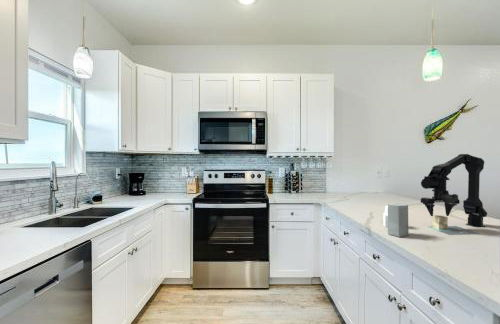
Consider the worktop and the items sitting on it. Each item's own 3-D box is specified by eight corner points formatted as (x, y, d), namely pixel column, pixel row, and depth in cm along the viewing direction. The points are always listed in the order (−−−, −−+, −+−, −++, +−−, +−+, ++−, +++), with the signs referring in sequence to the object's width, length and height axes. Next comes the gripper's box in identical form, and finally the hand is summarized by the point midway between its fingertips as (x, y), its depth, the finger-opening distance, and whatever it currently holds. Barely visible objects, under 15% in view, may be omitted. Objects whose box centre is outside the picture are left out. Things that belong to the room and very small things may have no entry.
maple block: (440, 227, 152) (440, 215, 152) (447, 229, 147) (447, 217, 147) (432, 227, 152) (432, 215, 152) (438, 230, 147) (438, 217, 147)
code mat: (455, 226, 155) (455, 226, 155) (482, 234, 139) (482, 234, 139) (426, 226, 154) (426, 226, 154) (449, 235, 138) (449, 234, 138)
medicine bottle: (396, 225, 157) (396, 205, 157) (399, 228, 150) (399, 207, 150) (383, 224, 159) (383, 204, 159) (385, 227, 153) (385, 206, 152)
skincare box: (399, 237, 133) (399, 206, 133) (386, 234, 140) (386, 203, 139) (409, 235, 137) (409, 204, 137) (396, 231, 144) (396, 202, 143)
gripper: (434, 190, 140) (434, 219, 141) (468, 189, 141) (468, 219, 142) (420, 187, 151) (419, 215, 152) (451, 187, 152) (451, 214, 153)
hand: (439, 216), depth 149 cm, fingers open, 9 cm apart
